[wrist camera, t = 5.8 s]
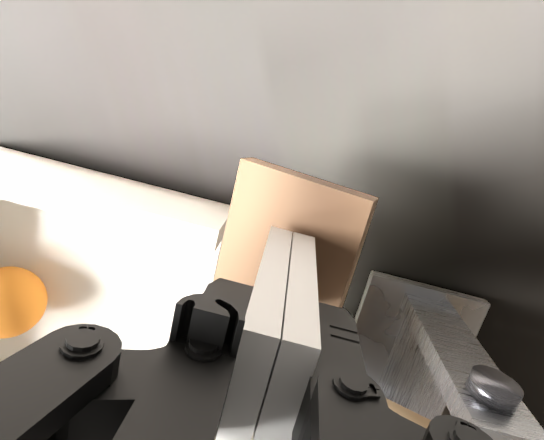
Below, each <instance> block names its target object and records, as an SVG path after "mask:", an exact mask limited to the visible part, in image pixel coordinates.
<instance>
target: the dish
mask: <svg viewBox="0 0 544 440" xmlns="http://www.w3.org/2000/svg"><path fill="white" fill-rule="evenodd" d="M229 208H230V205H228V204H224V203H220V202H216V201H212V200H209V199H205V198H201V197H197V196H193V195H189V194H185V193H181V192H177V191H173V190H169V189H165V188H161V187H157V186H154V185H150V184H146V183H142V182H138V181H134V180H130V179H126V178H122V177H118V176H114V175H110V174H106V173H103V172H99V171H95V170H91V169H87V168H83V167H79V166H75V165H71V164H67V163H63V162H59V161H55V160H51V159H48V158H44V157H40V156H36V155H32V154H28V153H24V152H20V151H16V150H12V149H8V148H4V147H0V267H6V266H14V267H20V268H24V269H27V270H29V271H31V272H33V273H34V274H35V275H37V276H38V277H39V278H40V279H41V281H42V282H43V283H44V285H45V287H46V290H47V295H48V302H47V307H46V310H45V312H44V314H43V316H42V318H41V319H40V320H39V322H38V323H37V324H36V325H35V326H34V327H32V328H31V329H30V330H28V331H27V332H25V333H23V334H20V335H18V336H15V337H11V338H3V339H0V362H1V361H2V360H4V359H6V358H8V357H9V356H11V355H13V354H15V353H16V352H18V351H20V350H21V349H23V348H25V347H27V346H28V345H30V344H32V343H33V342H35V341H37V340H39V339H40V338H42V337H44V336H45V335H47V334H49V333H51V332H52V331H55V330H57V329H60V328H62V327H65V326H69V325H76V324H96V325H99V326H103V327H106V328H109V329H110V330H112V331H113V332H115V333H116V334H118V336H119V338H120V339H121V341H122V349H130V350H149V349H156V348H161V347H164V346H166V345H167V343H168V341H169V337H170V332H171V326H172V321H173V316H174V311H175V305H176V303H177V302H178V301H179V300H180V299H181V298H182V297H185V296H189V295H192V294H203V293H204V291H205V289H206V287H207V285H208V284H209V283H211V282H213V281H214V277H215V272H216V268H217V263H218V259H219V254H220V250H221V245H222V240H223V236H224V231H225V227H226V222H227V218H228V213H229Z"/></svg>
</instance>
